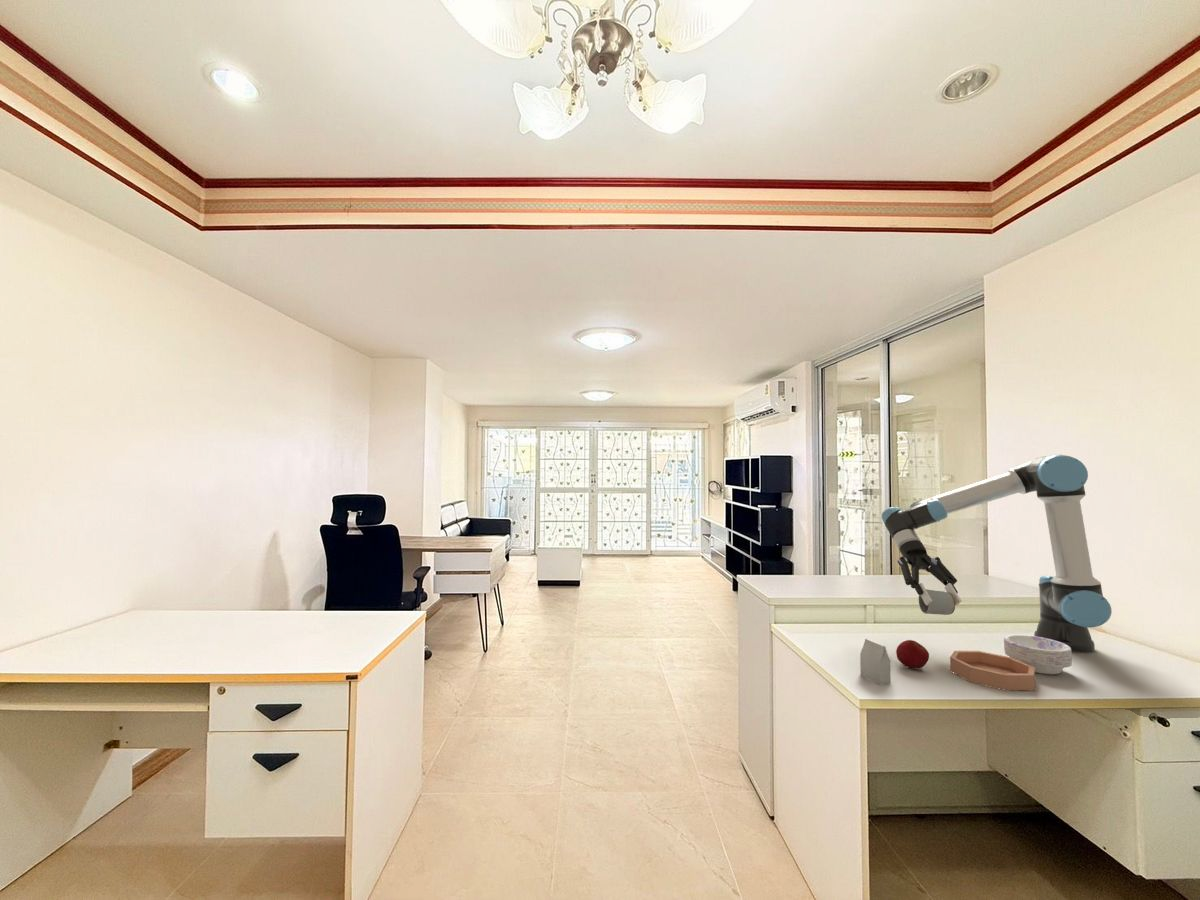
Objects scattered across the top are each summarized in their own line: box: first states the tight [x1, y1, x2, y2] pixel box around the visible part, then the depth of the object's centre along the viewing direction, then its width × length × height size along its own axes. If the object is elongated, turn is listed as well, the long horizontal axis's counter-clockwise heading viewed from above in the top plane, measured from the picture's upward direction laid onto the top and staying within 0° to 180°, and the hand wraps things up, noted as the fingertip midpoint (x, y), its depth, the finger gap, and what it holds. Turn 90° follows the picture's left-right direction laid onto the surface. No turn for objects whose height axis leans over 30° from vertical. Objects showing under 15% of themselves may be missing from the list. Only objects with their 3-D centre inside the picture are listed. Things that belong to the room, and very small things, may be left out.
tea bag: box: [859, 638, 892, 686], centre depth 138 cm, size 4×7×10 cm, turn 15°
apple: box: [895, 639, 930, 670], centre depth 146 cm, size 8×8×8 cm
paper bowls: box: [1003, 634, 1073, 675], centre depth 148 cm, size 15×15×8 cm
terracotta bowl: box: [949, 650, 1036, 691], centre depth 141 cm, size 18×18×4 cm
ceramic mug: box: [918, 588, 956, 616], centre depth 162 cm, size 11×8×8 cm
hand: (943, 603), depth 157 cm, fingers closed on ceramic mug, 9 cm apart
